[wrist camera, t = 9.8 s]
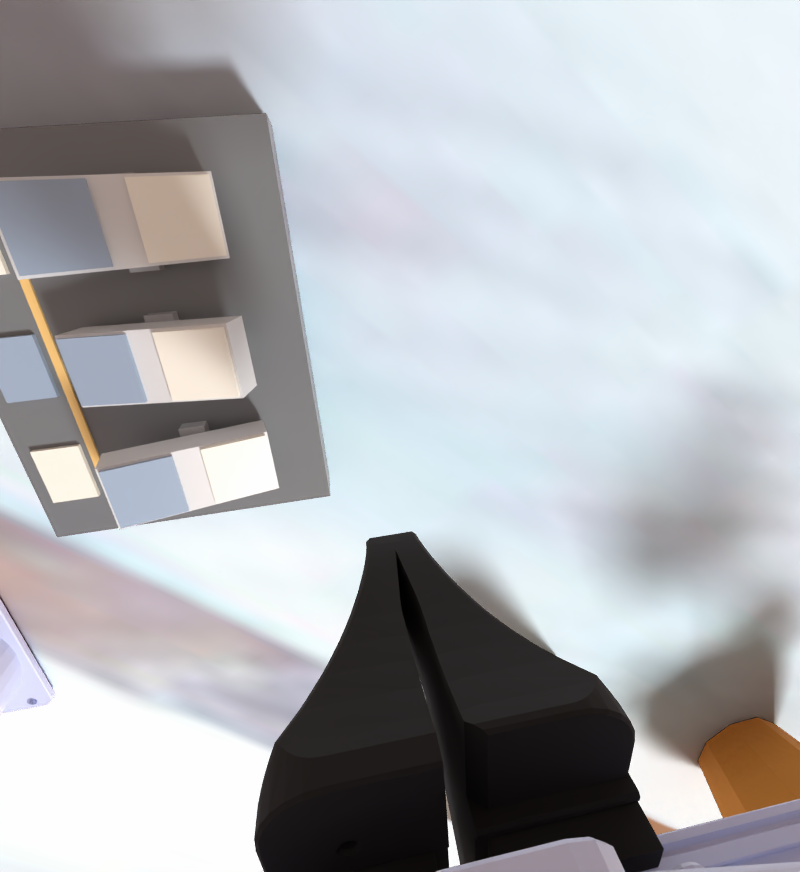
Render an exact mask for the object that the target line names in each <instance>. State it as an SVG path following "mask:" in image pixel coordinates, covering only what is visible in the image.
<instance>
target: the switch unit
mask: <svg viewBox="0 0 800 872" xmlns="http://www.w3.org/2000/svg"><path fill="white" fill-rule="evenodd" d="M200 171H211V174H212V178H213V183H214V187H215V192H216V197H217V201H218V206H219V210H220V215H221V219H222V224H223V229H224V233H225V238H226V242H227V247H228V252H229V256H230V258H227V259H217V260H207V261H198V262H188V263H178V264H168V265H159V266H149V267H139V268H129V269H120V270H110V271H100V272H91V273H81V274H71V275H61V276H52V277H42V278H32V279H22V280H18V279H17V276H16V274H15V271H14V269H13V266H12V264H11V261H10V259H9V256H8V254H7V252H6V249H5V247H4V244H3V242H2V239H1V237H0V418H1V420H2V423H3V425H4V427H5V429H6V431H7V433H8V435H9V437H10V439H11V441H12V443H13V446H14V448H15V450H16V452H17V454H18V456H19V458H20V460H21V462H22V464H23V466H24V469H25V471H26V473H27V475H28V477H29V479H30V481H31V483H32V485H33V487H34V489H35V492H36V494H37V496H38V498H39V500H40V502H41V504H42V506H43V508H44V510H45V513H46V515H47V517H48V519H49V521H50V523H51V525H52V527H53V529H54V531H55V533H56V536H57V537H62V536H68V535H75V534H82V533H88V532H95V531H101V530H108V529H115V528H119V527H118V525H117V523H116V520H115V518H114V515H113V513H112V510H111V508H110V505H109V503H108V500H107V498H106V495H105V493H104V490H103V488H102V486H101V483H100V481H99V478H98V476H97V473H96V471H95V468H96V465H97V463H98V461H99V459H100V456H101V454H103V453H107V452H112V451H117V450H121V449H126V448H131V447H136V446H140V445H145V444H150V443H155V442H159V441H164V440H169V439H174V438H178V437H183V436H188V435H193V434H197V433H202V432H207V431H212V430H216V429H221V428H226V427H231V426H235V425H240V424H245V423H249V422H254V421H259V420H263V423H264V425H265V428H266V431H267V435H268V439H269V444H270V448H271V453H272V457H273V462H274V467H275V471H276V476H277V480H278V485H279V488H277V489H273V490H270V491H266V492H262V493H258V494H254V495H250V496H246V497H243V498H239V499H235V500H231V501H227V502H223V503H220V504H216V505H212V506H208V507H204V508H200V509H196V510H193V511H189V512H185V513H181V514H177V515H173V516H170V517H166V518H162V519H158V520H154V521H150V522H146V523H143V524H148V523H154V522H161V521H168V520H174V519H181V518H187V517H194V516H201V515H207V514H214V513H220V512H227V511H234V510H240V509H247V508H253V507H260V506H267V505H273V504H280V503H286V502H293V501H300V500H306V499H313V498H319V497H326V496H330V482H329V471H328V465H327V459H326V453H325V447H324V440H323V434H322V428H321V422H320V416H319V410H318V404H317V398H316V392H315V386H314V380H313V373H312V367H311V361H310V355H309V349H308V343H307V337H306V331H305V325H304V319H303V313H302V306H301V300H300V294H299V288H298V282H297V276H296V270H295V264H294V258H293V252H292V246H291V240H290V233H289V227H288V221H287V215H286V209H285V203H284V197H283V191H282V185H281V179H280V173H279V166H278V160H277V154H276V148H275V142H274V136H273V130H272V125H271V123H270V121H269V118H268V116H267V114H266V113H262V114H244V115H227V116H210V117H192V118H175V119H158V120H140V121H123V122H105V123H88V124H71V125H53V126H36V127H19V128H1V129H0V177H33V176H67V175H100V174H133V173H166V172H200ZM229 316H242V319H243V324H244V329H245V333H246V338H247V342H248V347H249V351H250V356H251V361H252V365H253V370H254V374H255V379H256V383H257V386H256V387H255V388H254V389H253V390H251V391H250V392H249V393H248V394H247V395H246V396H245V397H244V398H236V399H219V400H202V401H185V402H168V403H151V404H134V405H117V406H100V407H82V406H81V404H80V401H79V399H78V396H77V394H76V391H75V388H74V386H73V383H72V381H71V378H70V376H69V373H68V371H67V368H66V366H65V363H64V361H63V358H62V355H61V353H60V350H59V348H58V345H57V343H56V338H55V336H56V335H59V334H62V333H65V332H69V331H72V330H75V329H78V328H82V327H93V326H106V325H120V324H133V323H147V322H161V321H174V320H188V319H202V318H215V317H229ZM139 525H141V524H139Z"/></svg>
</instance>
